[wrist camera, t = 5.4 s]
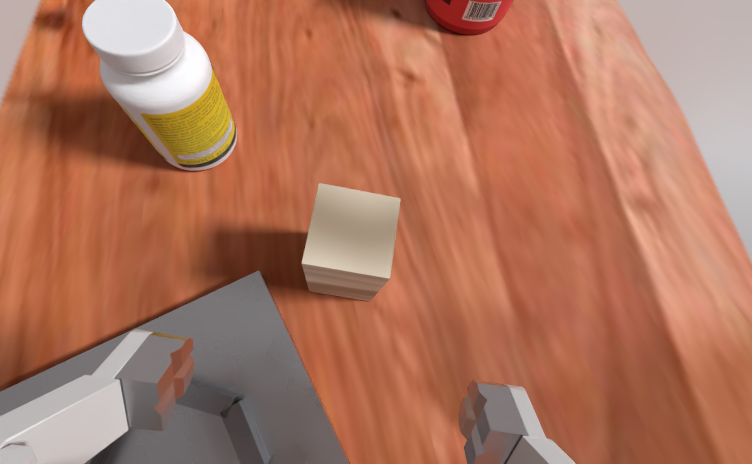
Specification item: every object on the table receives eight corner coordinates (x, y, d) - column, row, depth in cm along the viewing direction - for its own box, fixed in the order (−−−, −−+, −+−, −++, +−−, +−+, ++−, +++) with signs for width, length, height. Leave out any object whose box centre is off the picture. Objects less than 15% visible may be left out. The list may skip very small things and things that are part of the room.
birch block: (369, 301, 24) (389, 278, 16) (309, 291, 24) (301, 263, 16) (378, 244, 25) (400, 198, 18) (321, 233, 25) (319, 182, 17)
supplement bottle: (253, 126, 27) (214, 8, 17) (211, 185, 25) (144, 88, 16) (187, 95, 27) (114, -39, 18) (141, 152, 25) (33, 35, 16)
